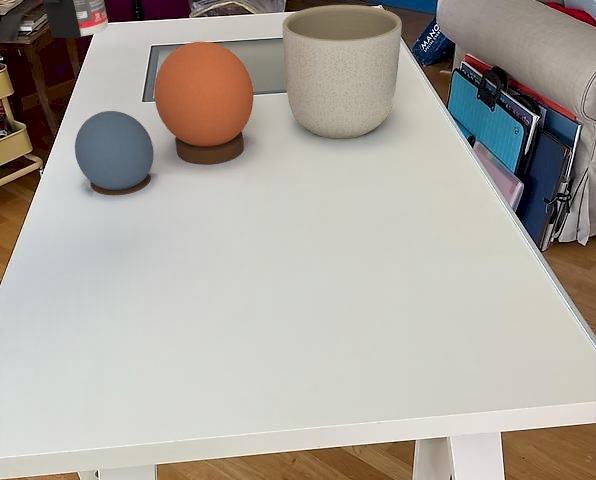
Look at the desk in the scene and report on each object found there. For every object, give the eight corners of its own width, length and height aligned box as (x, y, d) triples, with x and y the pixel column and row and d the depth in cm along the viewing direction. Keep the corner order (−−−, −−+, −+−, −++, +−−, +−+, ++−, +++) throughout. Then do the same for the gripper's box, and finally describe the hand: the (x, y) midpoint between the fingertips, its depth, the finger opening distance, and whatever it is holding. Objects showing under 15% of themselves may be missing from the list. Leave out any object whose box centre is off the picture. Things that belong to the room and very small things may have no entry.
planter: (414, 137, 109) (423, 30, 99) (309, 157, 105) (307, 47, 95) (367, 98, 121) (371, -2, 111) (271, 114, 117) (266, 13, 107)
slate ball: (74, 208, 96) (52, 128, 88) (103, 174, 103) (85, 97, 96) (145, 214, 94) (129, 132, 87) (169, 179, 101) (157, 100, 94)
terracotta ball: (150, 167, 104) (131, 59, 94) (180, 127, 114) (166, 26, 104) (244, 173, 102) (235, 63, 92) (266, 132, 112) (260, 29, 102)
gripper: (-12, -296, 49) (73, 60, 65) (102, -295, 62) (150, 1, 78) (-108, -290, 50) (-2, 56, 66) (23, -290, 63) (86, -1, 79)
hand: (80, 26), depth 72 cm, fingers closed on pill bottle, 5 cm apart
